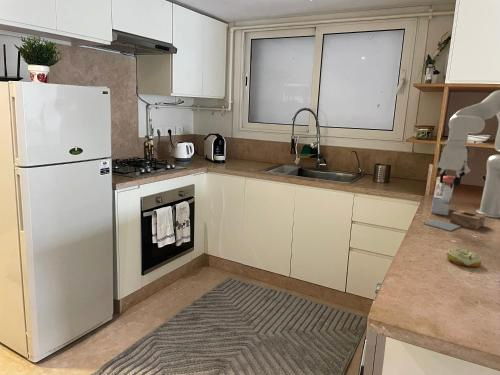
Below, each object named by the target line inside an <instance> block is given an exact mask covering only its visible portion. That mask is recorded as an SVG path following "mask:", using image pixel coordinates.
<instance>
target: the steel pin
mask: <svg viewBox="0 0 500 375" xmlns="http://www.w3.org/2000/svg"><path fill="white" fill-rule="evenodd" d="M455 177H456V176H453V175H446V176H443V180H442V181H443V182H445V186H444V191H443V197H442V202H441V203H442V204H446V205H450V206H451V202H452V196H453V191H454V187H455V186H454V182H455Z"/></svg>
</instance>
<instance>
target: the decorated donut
mask: <svg viewBox="0 0 500 375" xmlns="http://www.w3.org/2000/svg"><path fill="white" fill-rule="evenodd" d="M446 256H447V258H448V260H449V261H450V262H452V263H453V264H455V265H458V266H463V267H466V266H467V268H478V267H480V266H481V265H482V261H483V258H482V257H481V256H480V255H479V254H478V253H477V252H473V251H471V250H469V249H465V248H459V247H458V248H457V247H455V248H454V247H453V248H449V249H448V250H447V252H446Z"/></svg>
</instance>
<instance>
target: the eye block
mask: <svg viewBox="0 0 500 375" xmlns="http://www.w3.org/2000/svg"><path fill="white" fill-rule="evenodd" d="M486 217H487V216H485V215H481V214H478V213H476V212H471V211H467V210H463V209H459V210H456V211H453V212H451V215H450V221H449V223H452V224H456V225H460V226H461V227H462V228H467V229H471V230H478V229H480V228H483V227H484V225H485V222H486Z"/></svg>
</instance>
